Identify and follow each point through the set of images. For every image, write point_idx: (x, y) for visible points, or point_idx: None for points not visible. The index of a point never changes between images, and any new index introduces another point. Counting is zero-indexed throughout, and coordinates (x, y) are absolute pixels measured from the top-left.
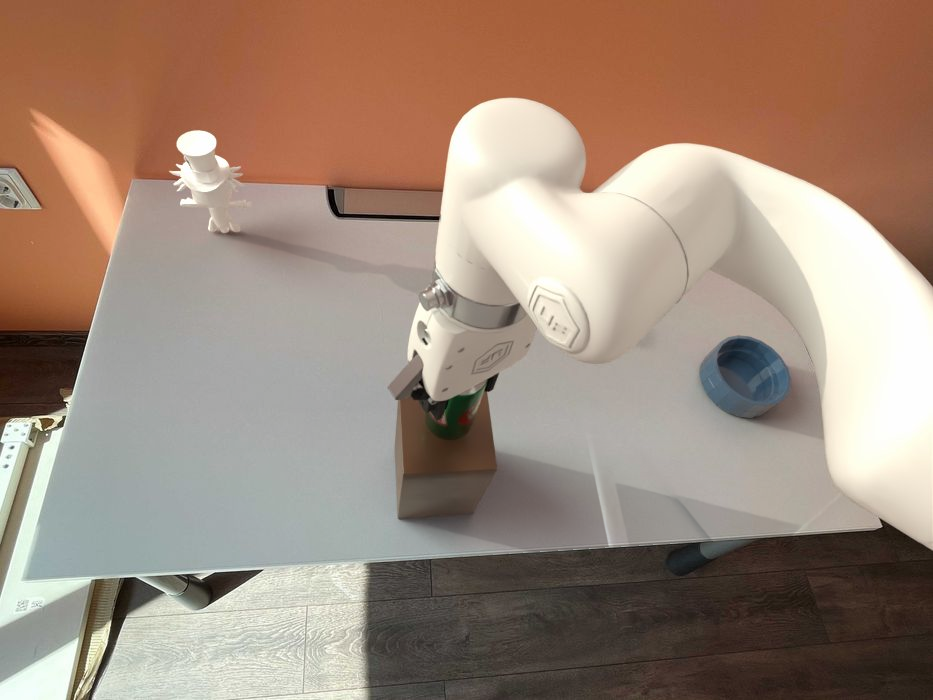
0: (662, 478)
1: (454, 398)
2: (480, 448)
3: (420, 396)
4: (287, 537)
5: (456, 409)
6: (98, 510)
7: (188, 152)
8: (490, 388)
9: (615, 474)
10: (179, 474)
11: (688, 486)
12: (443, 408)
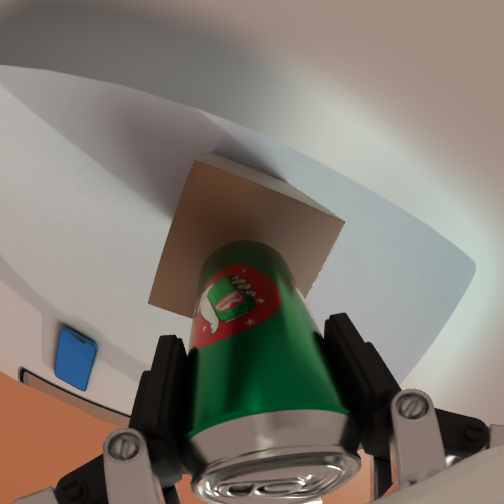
0: (25, 122)
1: (340, 392)
2: (205, 207)
3: (479, 435)
4: (378, 215)
5: (306, 335)
6: (450, 288)
7: (318, 501)
8: (169, 348)
9: (56, 138)
10: (411, 295)
11: (13, 110)
12: (358, 356)
